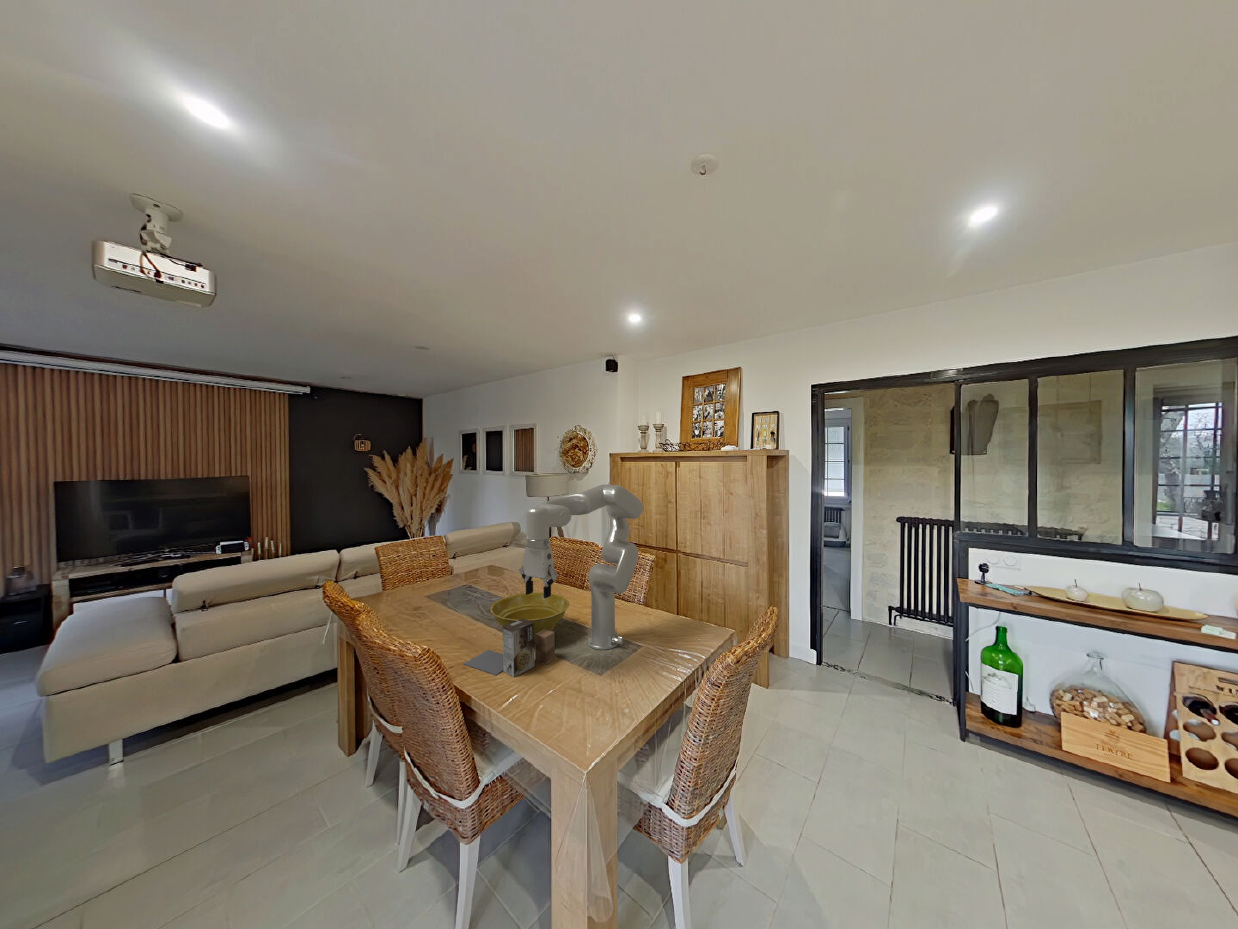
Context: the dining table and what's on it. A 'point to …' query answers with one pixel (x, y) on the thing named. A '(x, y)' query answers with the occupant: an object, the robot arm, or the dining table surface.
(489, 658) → the mat
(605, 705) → the dining table surface
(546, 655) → the walnut block
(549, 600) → the planter bowl
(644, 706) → the dining table surface
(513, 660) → the coffee box
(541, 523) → the robot arm
